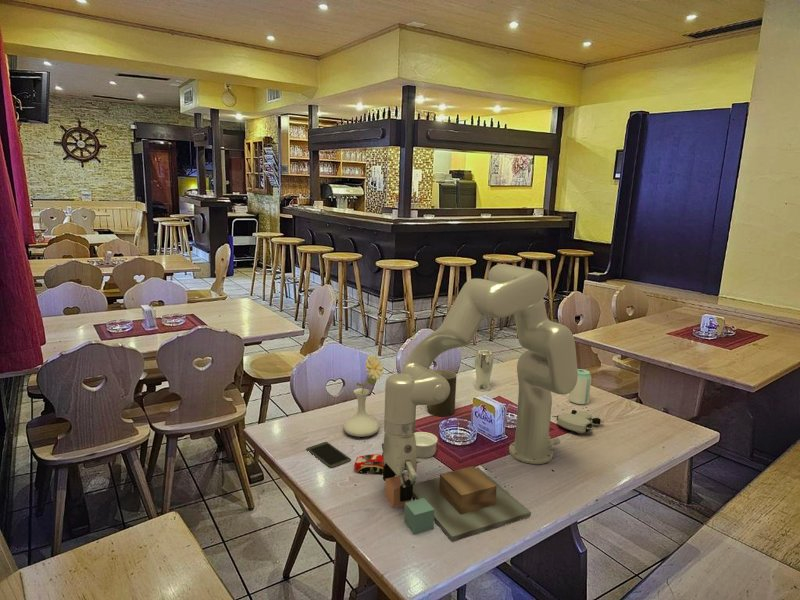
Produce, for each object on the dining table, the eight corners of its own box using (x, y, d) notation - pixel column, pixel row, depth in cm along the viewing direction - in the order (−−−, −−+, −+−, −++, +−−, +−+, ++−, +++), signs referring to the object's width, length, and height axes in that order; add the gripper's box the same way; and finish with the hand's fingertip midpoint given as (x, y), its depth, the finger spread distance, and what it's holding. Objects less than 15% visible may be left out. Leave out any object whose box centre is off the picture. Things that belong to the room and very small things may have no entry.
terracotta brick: (402, 492, 131) (403, 474, 130) (411, 502, 127) (412, 484, 126) (384, 496, 129) (385, 478, 128) (393, 507, 124) (393, 489, 123)
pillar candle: (447, 419, 174) (449, 377, 171) (422, 412, 179) (423, 371, 176) (459, 409, 182) (461, 369, 179) (435, 403, 187) (437, 364, 184)
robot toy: (570, 417, 180) (549, 427, 170) (572, 405, 180) (551, 414, 169) (605, 429, 172) (584, 440, 161) (607, 416, 171) (586, 426, 161)
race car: (402, 466, 144) (403, 453, 143) (401, 477, 139) (402, 463, 138) (356, 463, 144) (356, 450, 144) (353, 474, 139) (353, 460, 138)
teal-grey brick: (423, 516, 121) (423, 497, 120) (433, 529, 117) (434, 509, 116) (404, 522, 119) (404, 502, 118) (414, 534, 115) (414, 514, 114)
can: (564, 399, 193) (567, 369, 191) (579, 397, 196) (582, 367, 194) (578, 406, 187) (581, 375, 185) (592, 403, 190) (596, 373, 188)
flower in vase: (355, 443, 155) (355, 365, 150) (336, 429, 164) (336, 355, 159) (390, 432, 163) (392, 357, 158) (370, 419, 172) (371, 348, 167)
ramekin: (418, 462, 146) (419, 448, 145) (401, 449, 153) (401, 436, 152) (443, 454, 151) (443, 440, 150) (425, 442, 158) (425, 429, 157)
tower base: (478, 471, 142) (479, 450, 140) (530, 516, 122) (532, 493, 121) (407, 489, 132) (407, 467, 131) (451, 541, 113) (453, 516, 111)
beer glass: (481, 384, 207) (483, 348, 204) (495, 389, 202) (497, 352, 199) (470, 387, 203) (472, 351, 200) (483, 393, 198) (485, 356, 194)
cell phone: (326, 443, 156) (326, 441, 156) (352, 462, 146) (352, 459, 145) (305, 450, 151) (305, 448, 151) (330, 470, 141) (330, 467, 141)
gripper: (430, 438, 118) (427, 505, 121) (398, 409, 133) (395, 469, 136) (401, 443, 114) (398, 512, 118) (371, 413, 130) (369, 475, 133)
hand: (397, 489), depth 127 cm, fingers open, 9 cm apart
